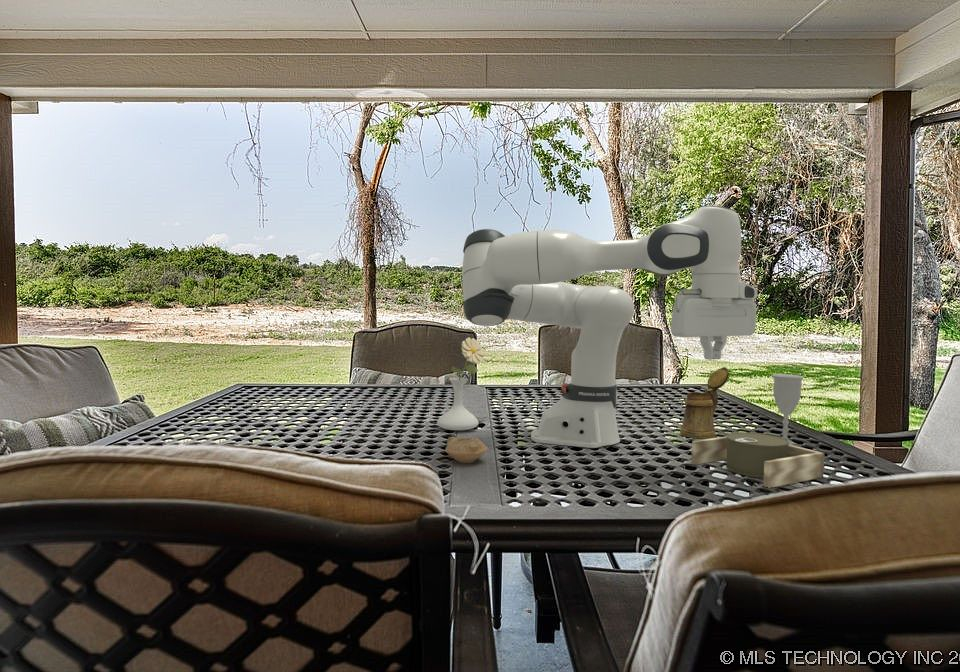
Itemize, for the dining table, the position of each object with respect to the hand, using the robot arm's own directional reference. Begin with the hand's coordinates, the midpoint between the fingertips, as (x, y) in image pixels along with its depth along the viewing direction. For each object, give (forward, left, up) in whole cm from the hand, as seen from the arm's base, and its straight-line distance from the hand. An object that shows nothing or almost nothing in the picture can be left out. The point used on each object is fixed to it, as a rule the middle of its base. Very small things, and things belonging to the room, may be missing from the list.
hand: (712, 359), depth 120 cm
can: (+11, +9, -24) cm, 28 cm away
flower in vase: (-58, +34, -24) cm, 71 cm away
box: (+11, +8, -24) cm, 28 cm away
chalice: (+23, +29, -24) cm, 44 cm away
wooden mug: (+7, +42, -24) cm, 49 cm away
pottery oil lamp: (-51, +4, -24) cm, 57 cm away
